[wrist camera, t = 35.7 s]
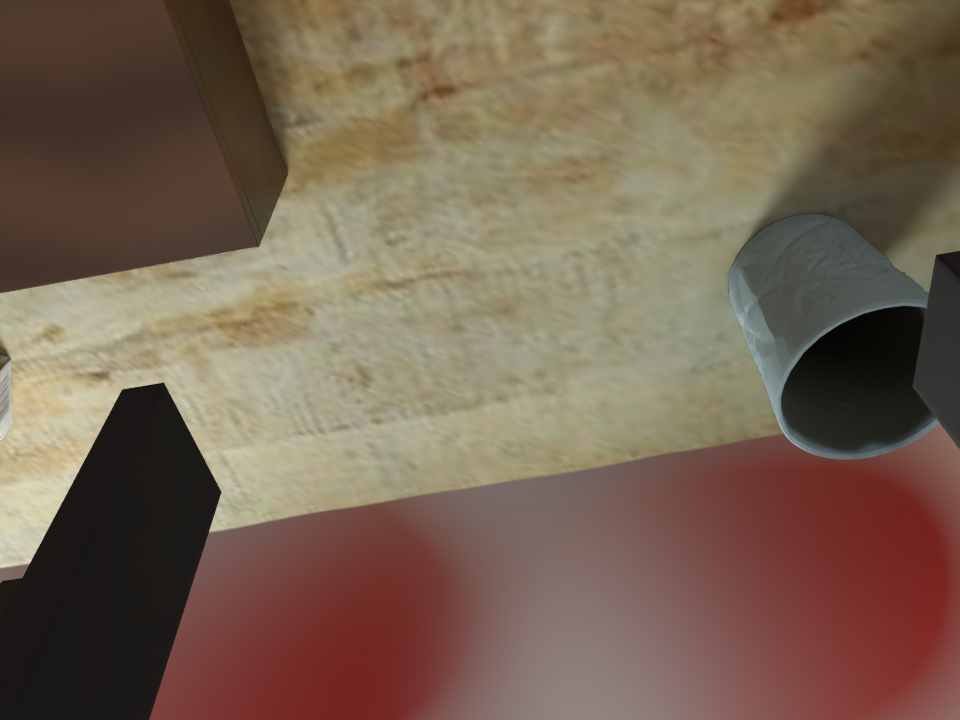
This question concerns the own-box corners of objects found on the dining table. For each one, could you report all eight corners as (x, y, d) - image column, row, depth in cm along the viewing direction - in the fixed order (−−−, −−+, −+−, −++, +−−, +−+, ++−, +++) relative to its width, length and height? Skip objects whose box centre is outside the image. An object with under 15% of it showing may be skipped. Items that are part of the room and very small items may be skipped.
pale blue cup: (744, 359, 55) (808, 485, 45) (690, 247, 50) (748, 362, 40) (893, 292, 52) (995, 411, 42) (852, 166, 47) (957, 269, 37)
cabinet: (-133, -104, 37) (-269, -75, 30) (170, -172, 36) (102, -158, 29) (45, 219, 47) (-26, 298, 40) (288, 174, 46) (259, 247, 39)
